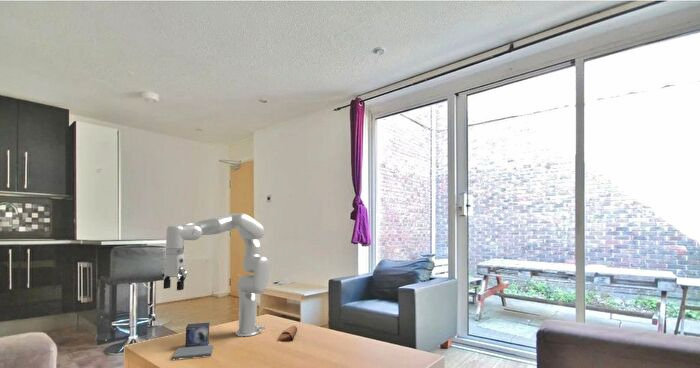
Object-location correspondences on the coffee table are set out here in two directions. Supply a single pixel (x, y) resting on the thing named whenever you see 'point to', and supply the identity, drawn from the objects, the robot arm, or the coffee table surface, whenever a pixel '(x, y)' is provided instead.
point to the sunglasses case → (288, 334)
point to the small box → (197, 334)
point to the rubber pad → (193, 352)
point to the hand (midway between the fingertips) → (173, 289)
